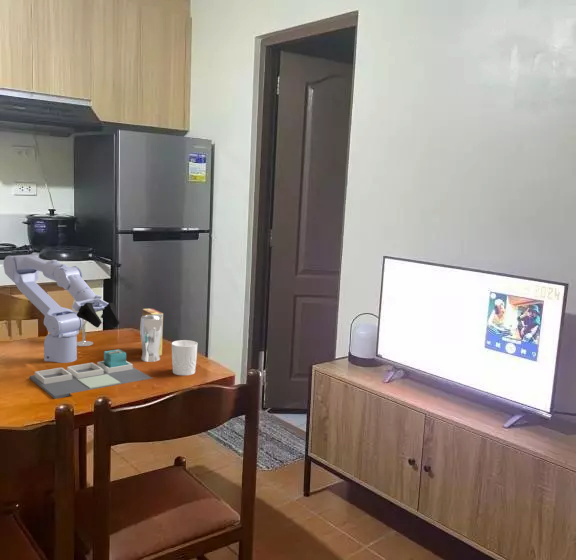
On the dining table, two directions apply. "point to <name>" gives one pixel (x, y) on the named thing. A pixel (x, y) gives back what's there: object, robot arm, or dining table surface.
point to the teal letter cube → (114, 358)
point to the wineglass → (83, 343)
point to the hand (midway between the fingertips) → (108, 325)
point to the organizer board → (85, 378)
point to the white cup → (184, 357)
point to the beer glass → (150, 337)
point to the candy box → (155, 312)
